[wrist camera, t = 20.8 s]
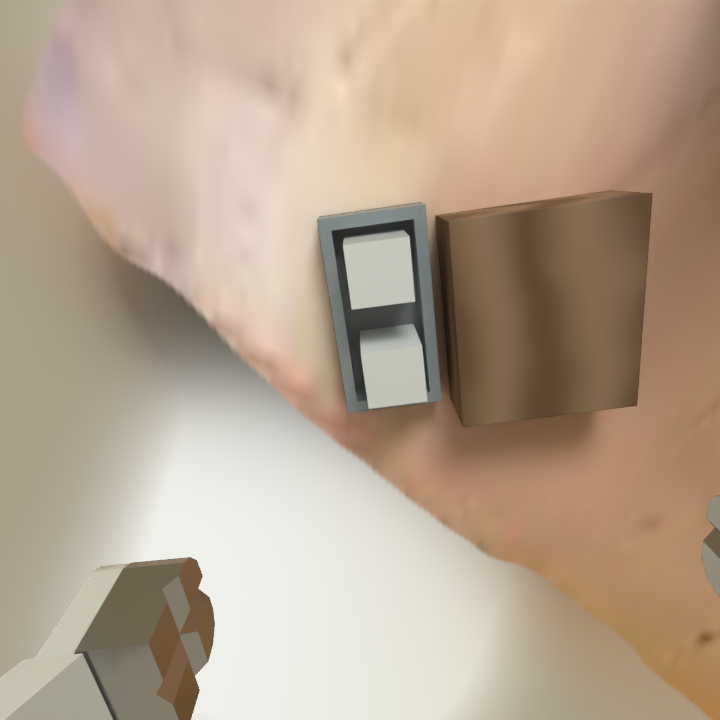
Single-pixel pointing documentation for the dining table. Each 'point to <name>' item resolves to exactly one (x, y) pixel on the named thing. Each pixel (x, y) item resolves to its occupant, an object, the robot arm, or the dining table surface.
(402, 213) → the tray
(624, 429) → the dining table surface
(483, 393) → the square brown board
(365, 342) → the off-white small block
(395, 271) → the white block
